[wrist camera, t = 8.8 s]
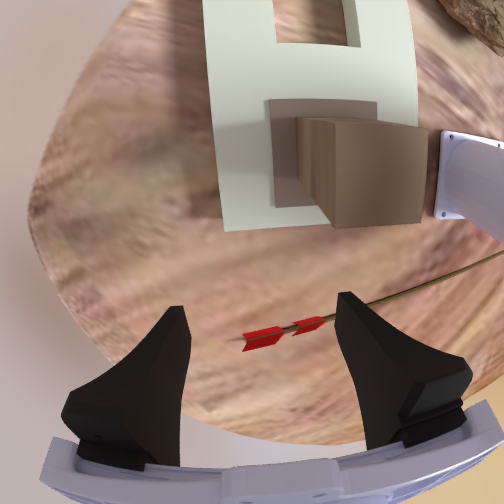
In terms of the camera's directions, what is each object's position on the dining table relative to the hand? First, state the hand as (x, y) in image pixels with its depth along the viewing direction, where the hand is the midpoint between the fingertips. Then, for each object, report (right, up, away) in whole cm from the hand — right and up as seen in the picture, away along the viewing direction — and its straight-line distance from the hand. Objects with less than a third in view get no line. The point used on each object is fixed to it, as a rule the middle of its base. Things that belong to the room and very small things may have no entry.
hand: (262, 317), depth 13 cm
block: (+4, +9, +4) cm, 11 cm away
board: (+4, +15, +4) cm, 16 cm away
